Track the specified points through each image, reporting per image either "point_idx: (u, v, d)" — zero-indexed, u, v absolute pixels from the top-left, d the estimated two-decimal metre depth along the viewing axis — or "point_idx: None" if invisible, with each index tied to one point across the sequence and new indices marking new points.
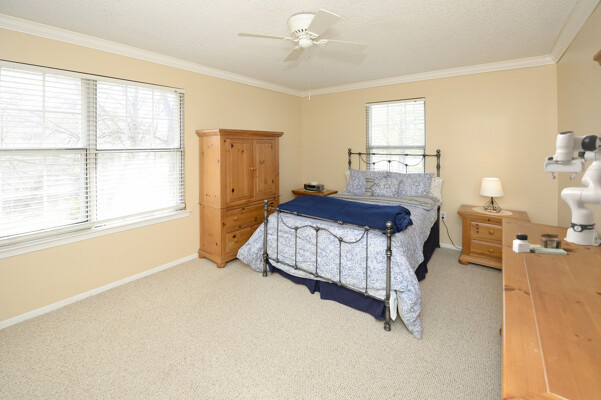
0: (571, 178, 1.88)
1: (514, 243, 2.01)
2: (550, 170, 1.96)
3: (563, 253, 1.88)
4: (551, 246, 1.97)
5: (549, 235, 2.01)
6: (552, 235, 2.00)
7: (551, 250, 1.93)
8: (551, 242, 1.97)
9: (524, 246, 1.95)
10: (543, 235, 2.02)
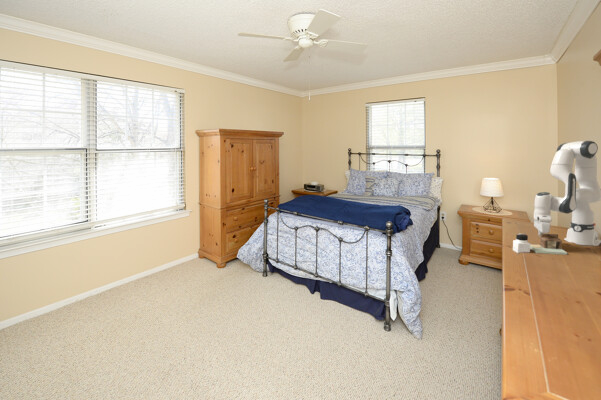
0: None
1: (514, 243, 2.01)
2: None
3: (563, 253, 1.88)
4: (551, 246, 1.97)
5: (549, 235, 2.00)
6: (552, 235, 2.00)
7: (551, 250, 1.93)
8: (551, 242, 1.97)
9: (524, 246, 1.95)
10: (543, 235, 2.01)
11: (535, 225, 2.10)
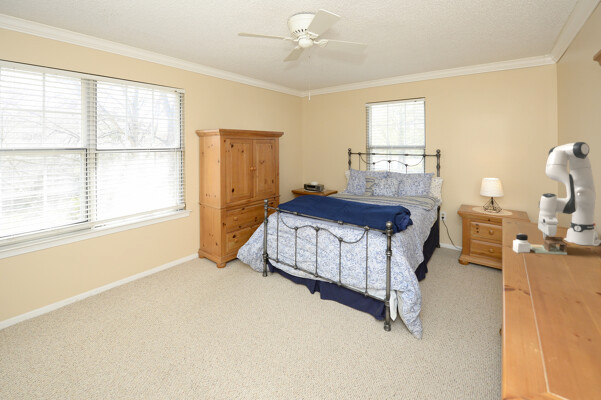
0: None
1: (514, 243, 2.01)
2: None
3: (563, 253, 1.88)
4: (551, 246, 1.97)
5: (553, 238, 1.94)
6: (557, 238, 1.93)
7: (551, 250, 1.93)
8: None
9: (524, 246, 1.95)
10: (547, 238, 1.95)
11: (539, 227, 2.03)
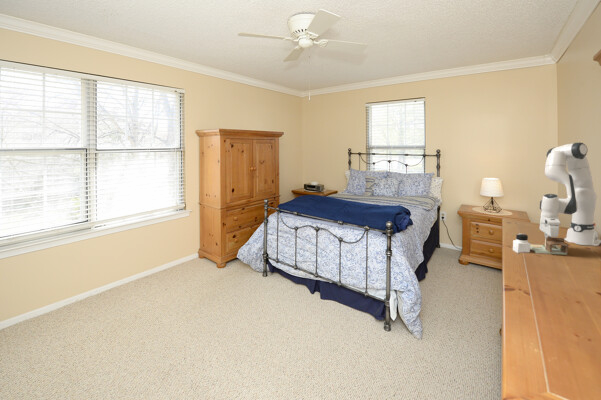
0: None
1: (514, 243, 2.01)
2: None
3: (563, 253, 1.88)
4: None
5: (555, 239, 1.92)
6: (558, 239, 1.91)
7: None
8: None
9: (524, 246, 1.95)
10: (549, 239, 1.93)
11: (541, 228, 2.01)
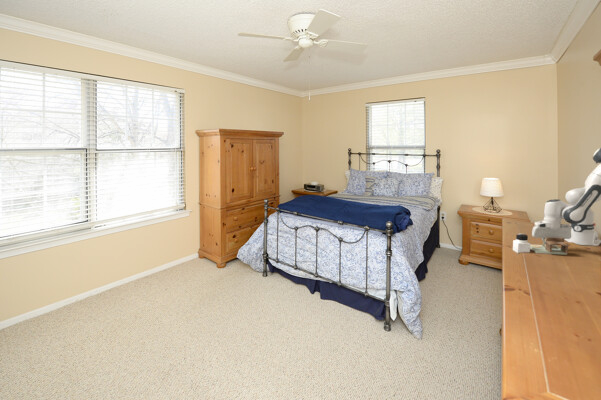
0: None
1: (514, 243, 2.01)
2: (540, 236, 1.99)
3: (563, 253, 1.88)
4: None
5: (555, 239, 1.92)
6: (558, 239, 1.91)
7: None
8: None
9: (524, 246, 1.95)
10: (549, 239, 1.93)
11: None
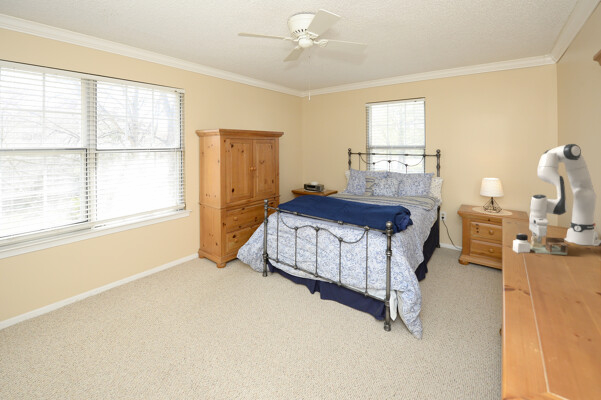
0: None
1: (514, 243, 2.01)
2: None
3: (563, 253, 1.88)
4: None
5: (555, 239, 1.92)
6: (558, 239, 1.91)
7: None
8: None
9: (524, 246, 1.95)
10: (549, 239, 1.93)
11: (530, 228, 2.06)
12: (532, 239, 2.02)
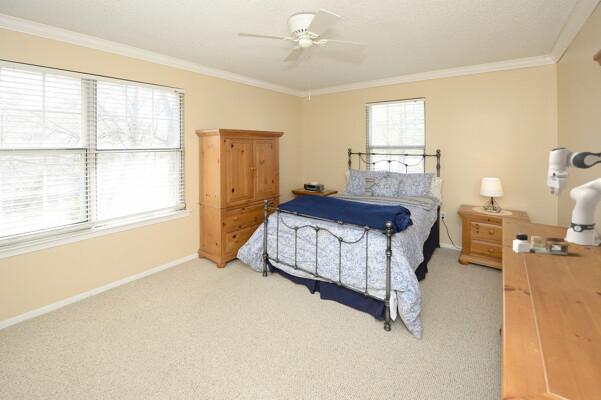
0: None
1: (514, 243, 2.01)
2: None
3: (563, 253, 1.88)
4: None
5: (555, 239, 1.92)
6: (558, 239, 1.91)
7: None
8: None
9: (524, 246, 1.95)
10: (549, 239, 1.93)
11: (549, 184, 2.01)
12: (532, 239, 2.02)
